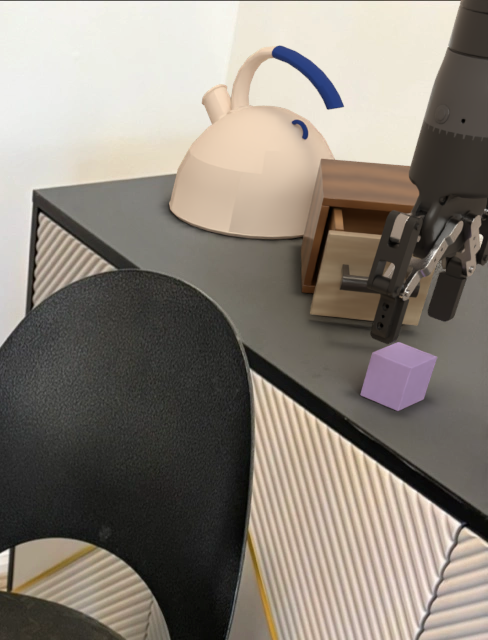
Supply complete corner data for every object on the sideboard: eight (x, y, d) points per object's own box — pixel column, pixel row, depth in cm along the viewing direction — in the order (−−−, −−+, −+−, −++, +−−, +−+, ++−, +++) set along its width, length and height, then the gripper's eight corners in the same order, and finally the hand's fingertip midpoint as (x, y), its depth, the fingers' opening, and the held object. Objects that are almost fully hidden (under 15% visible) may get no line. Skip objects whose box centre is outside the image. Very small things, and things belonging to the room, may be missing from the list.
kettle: (248, 179, 149) (277, 23, 137) (369, 223, 136) (413, 54, 124) (133, 202, 140) (153, 37, 129) (250, 251, 128) (285, 73, 116)
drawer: (421, 345, 106) (447, 262, 101) (310, 333, 108) (330, 250, 103) (407, 278, 120) (429, 201, 115) (308, 268, 121) (326, 192, 116)
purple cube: (385, 384, 102) (398, 341, 99) (423, 399, 99) (437, 356, 97) (359, 395, 100) (371, 352, 97) (397, 411, 97) (411, 367, 95)
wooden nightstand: (414, 304, 116) (443, 207, 110) (301, 292, 118) (323, 197, 112) (404, 257, 127) (430, 167, 121) (300, 247, 129) (320, 158, 123)
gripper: (469, 145, 79) (401, 364, 90) (570, 118, 86) (495, 324, 97) (379, 122, 83) (324, 334, 94) (482, 98, 90) (420, 298, 101)
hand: (411, 329), depth 95 cm, fingers open, 8 cm apart
